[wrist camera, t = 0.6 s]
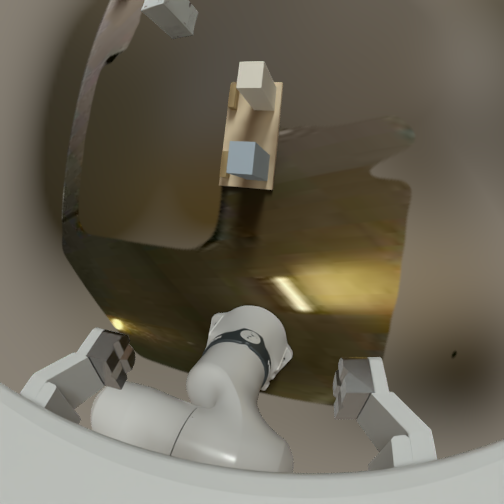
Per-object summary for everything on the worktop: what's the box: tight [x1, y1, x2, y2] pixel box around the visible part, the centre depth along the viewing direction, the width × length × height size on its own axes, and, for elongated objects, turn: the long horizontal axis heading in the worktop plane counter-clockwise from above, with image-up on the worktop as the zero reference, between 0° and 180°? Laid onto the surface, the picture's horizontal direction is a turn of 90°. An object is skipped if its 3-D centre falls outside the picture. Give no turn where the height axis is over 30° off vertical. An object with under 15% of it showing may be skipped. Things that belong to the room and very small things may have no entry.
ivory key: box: [236, 61, 277, 111], centre depth 46 cm, size 4×5×12 cm
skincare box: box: [141, 0, 198, 39], centre depth 46 cm, size 8×6×15 cm
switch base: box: [219, 82, 283, 190], centre depth 53 cm, size 10×22×3 cm, turn 174°
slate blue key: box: [226, 141, 270, 181], centre depth 48 cm, size 4×5×12 cm
